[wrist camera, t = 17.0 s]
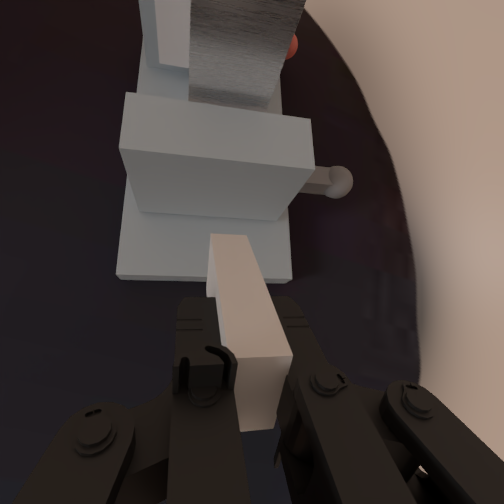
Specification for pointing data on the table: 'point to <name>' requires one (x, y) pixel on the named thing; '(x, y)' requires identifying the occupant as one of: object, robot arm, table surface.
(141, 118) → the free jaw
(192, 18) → the steel block
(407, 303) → the table surface
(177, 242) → the vise
